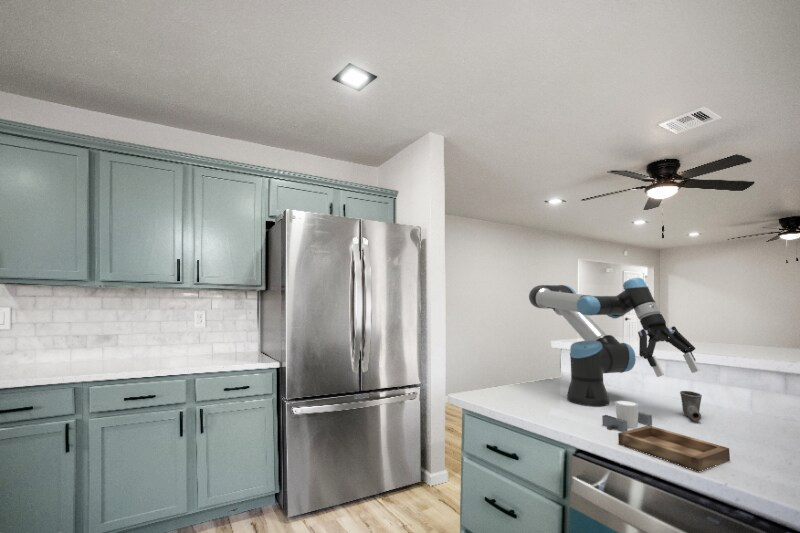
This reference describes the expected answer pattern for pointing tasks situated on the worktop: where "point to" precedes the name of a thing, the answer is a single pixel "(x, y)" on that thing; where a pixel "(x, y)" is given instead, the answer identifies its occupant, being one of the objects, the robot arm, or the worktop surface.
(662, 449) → the tray
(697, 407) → the pipe
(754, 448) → the worktop surface
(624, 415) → the light grey cup
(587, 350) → the robot arm
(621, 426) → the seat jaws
